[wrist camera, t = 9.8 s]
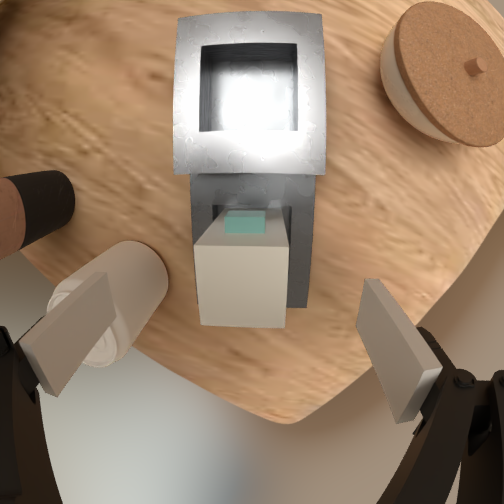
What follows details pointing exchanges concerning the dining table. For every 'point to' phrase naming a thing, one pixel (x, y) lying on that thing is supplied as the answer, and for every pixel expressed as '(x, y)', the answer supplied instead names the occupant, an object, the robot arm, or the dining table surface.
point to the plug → (243, 269)
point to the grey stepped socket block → (253, 122)
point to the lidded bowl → (445, 75)
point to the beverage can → (121, 295)
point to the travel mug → (33, 208)
